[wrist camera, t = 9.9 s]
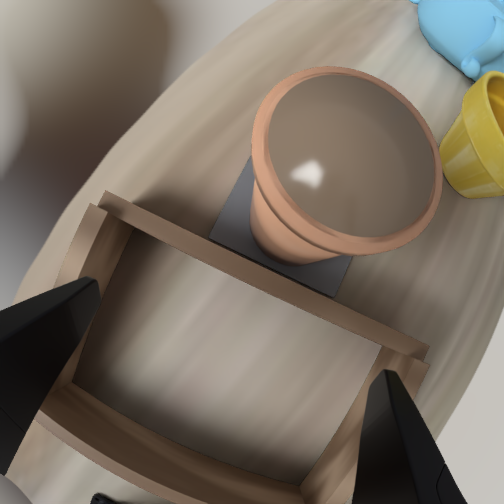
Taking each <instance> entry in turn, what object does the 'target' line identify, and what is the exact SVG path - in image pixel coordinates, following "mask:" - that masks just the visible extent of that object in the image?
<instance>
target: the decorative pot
mask: <svg viewBox="0 0 504 504" xmlns="http://www.w3.org/2000/svg"><path fill="white" fill-rule="evenodd" d="M409 1H411V2H412V3H414V4H418V20H419V25H420V29H421V32H422V33H423V35H424V37H425V38H426V39H427V40H428V43H429V45H430V46H431V48H432V49H433V50H435V51H436V52H437V53H439V54H442V55H443V56H444V57H445V58H446V59H447V60H449V61H450V62H451V63H452V64H453V65H454V66H456V67H457V68H458V69H459V70H461V71H462V72H463V73H464V74H465V75H466V76H467V77H469V78H472V79H473V80H474V81H475V82H476V81H477V80H478V79H479V78H481V77H482V76H483V75H484V74H485V73H486V72H488V71H499V72H502V73H504V0H409Z"/></svg>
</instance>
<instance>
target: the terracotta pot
mask: <svg viewBox="0 0 504 504" xmlns="http://www.w3.org/2000/svg"><path fill="white" fill-rule="evenodd" d="M251 161H252V167H253V173H254V176H255V181H254V187H253V194H252V201H251V207H250V214H249V225H250V231H251V234H252V237H253V239H254V241H255V243H256V245H257V246H258V247H259V249H260V250H261V251H262V252H263V253H264V254H265V255H266V256H267V257H269V258H270V259H272V260H274V261H275V262H278V263H280V264H283V265H287V266H304V265H308V264H312V263H315V262H319V261H323V260H326V259H330V258H333V257H336V256H340V255H347V256H366V255H372V254H378V253H382V252H386V251H390V250H393V249H396V248H399V247H401V246H403V245H405V244H407V243H409V242H410V241H412V240H413V239H414V238H416V237H417V236H418V235H419V234H420V233H421V232H422V231H423V230H424V229H425V228H426V227H427V225H428V224H429V222H430V221H431V220H432V218H433V216H434V214H435V212H436V210H437V208H438V204H439V201H440V198H441V192H442V184H443V172H442V163H441V158H440V153H439V150H438V147H437V144H436V141H435V139H434V136H433V134H432V132H431V130H430V128H429V127H428V125H427V123H426V121H425V120H424V118H423V117H422V116H421V114H420V113H419V112H418V110H417V109H416V108H415V107H414V106H413V105H412V104H411V102H410V101H408V100H407V99H406V98H405V97H404V96H403V95H402V94H401V93H400V92H398V91H397V90H396V89H394V88H393V87H392V86H390V85H388V84H387V83H385V82H384V81H382V80H380V79H378V78H376V77H374V76H372V75H369V74H367V73H364V72H361V71H357V70H354V69H350V68H343V67H329V66H327V67H316V68H311V69H306V70H303V71H300V72H297V73H295V74H293V75H291V76H289V77H287V78H285V79H284V80H282V81H281V82H280V83H278V84H277V85H276V86H275V87H274V88H273V89H272V90H271V91H270V92H269V93H268V95H267V96H266V97H265V99H264V100H263V102H262V104H261V106H260V108H259V110H258V112H257V115H256V118H255V121H254V127H253V134H252V144H251Z"/></svg>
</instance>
